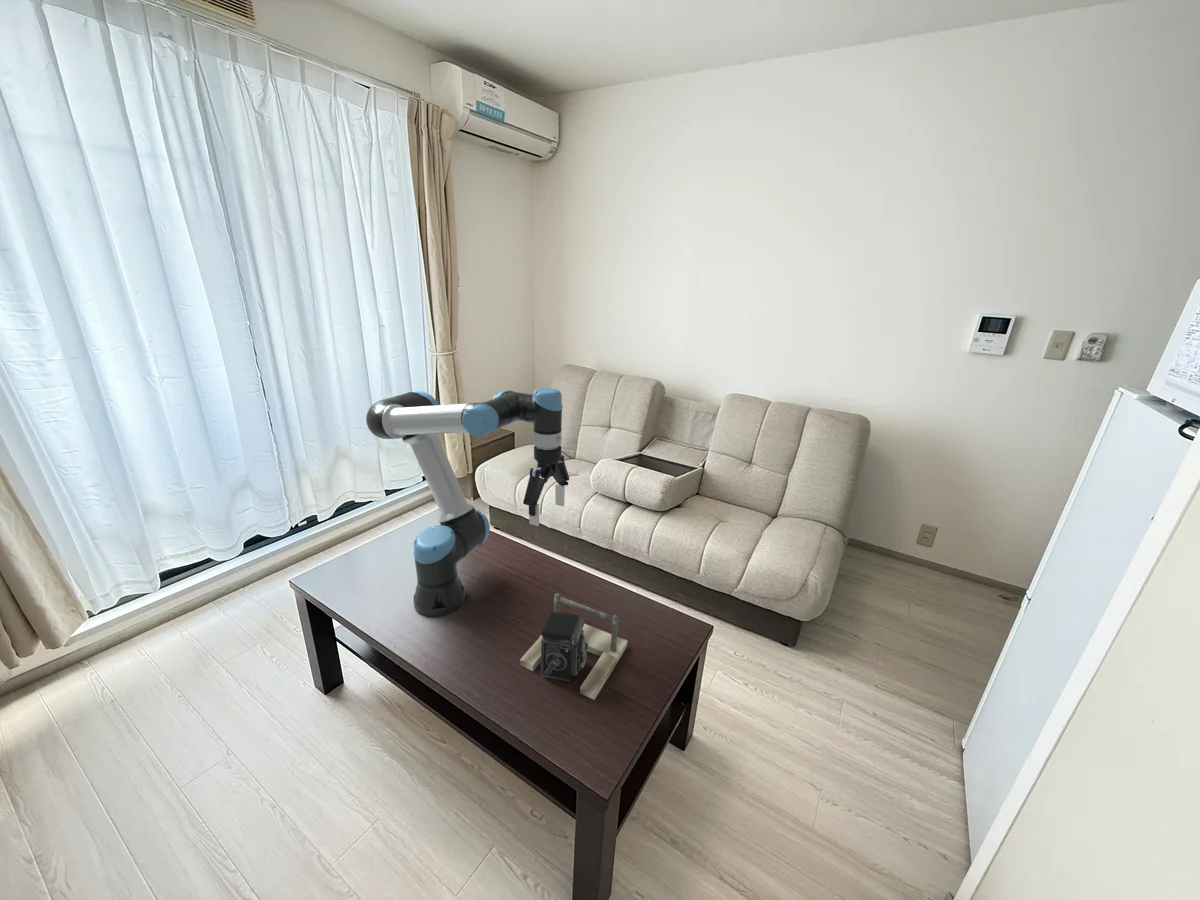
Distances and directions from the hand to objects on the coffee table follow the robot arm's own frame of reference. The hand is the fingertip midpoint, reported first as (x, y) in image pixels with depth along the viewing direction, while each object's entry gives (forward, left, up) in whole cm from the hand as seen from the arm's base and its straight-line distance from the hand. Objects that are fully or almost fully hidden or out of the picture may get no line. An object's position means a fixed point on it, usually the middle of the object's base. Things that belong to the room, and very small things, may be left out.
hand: (547, 514), depth 133 cm
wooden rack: (+18, -14, -32) cm, 39 cm away
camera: (+18, -19, -32) cm, 41 cm away
